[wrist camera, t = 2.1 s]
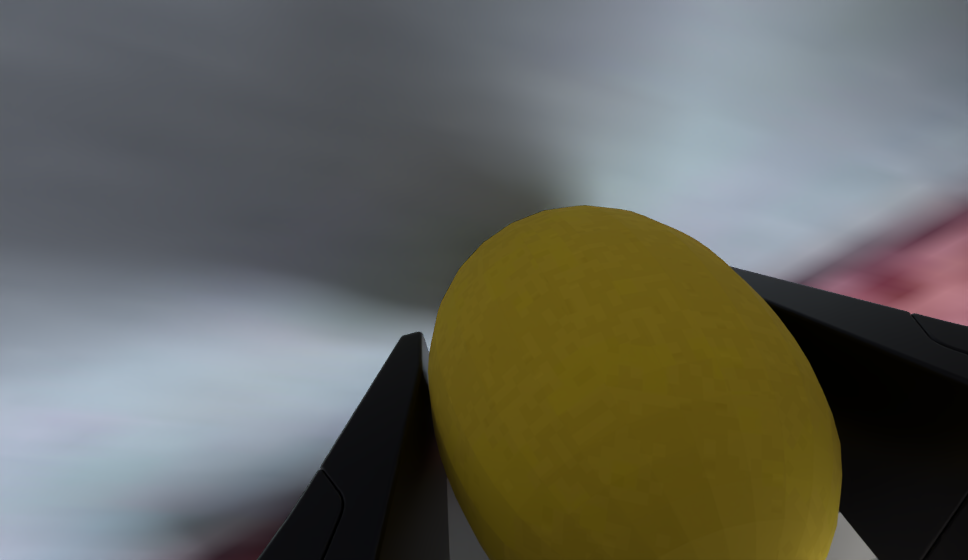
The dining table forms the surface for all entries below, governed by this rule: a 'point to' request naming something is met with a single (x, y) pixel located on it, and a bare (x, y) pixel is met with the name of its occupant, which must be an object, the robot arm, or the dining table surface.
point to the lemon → (626, 400)
